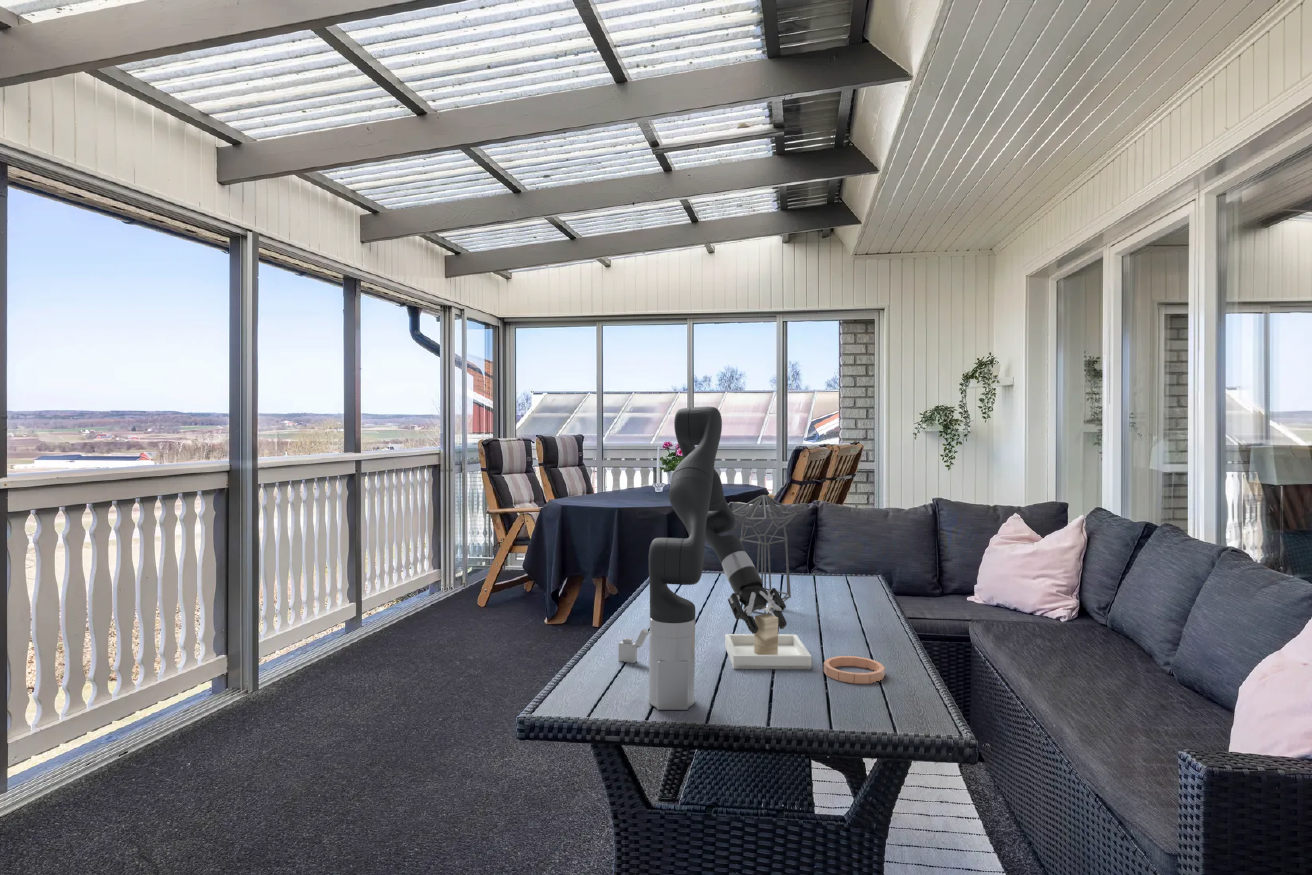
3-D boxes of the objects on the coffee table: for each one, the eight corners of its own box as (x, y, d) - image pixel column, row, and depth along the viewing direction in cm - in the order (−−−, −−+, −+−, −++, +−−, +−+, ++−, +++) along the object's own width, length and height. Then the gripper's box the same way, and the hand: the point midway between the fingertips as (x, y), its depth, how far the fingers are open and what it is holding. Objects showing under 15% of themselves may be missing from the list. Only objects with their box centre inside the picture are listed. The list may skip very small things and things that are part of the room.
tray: (811, 669, 179) (811, 656, 179) (733, 668, 179) (733, 655, 179) (795, 646, 197) (796, 634, 197) (725, 645, 197) (725, 634, 197)
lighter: (618, 660, 184) (618, 627, 184) (621, 658, 185) (621, 625, 185) (646, 664, 181) (646, 630, 181) (648, 662, 183) (649, 628, 183)
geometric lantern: (799, 610, 234) (801, 495, 232) (767, 621, 223) (768, 499, 221) (758, 600, 245) (759, 490, 243) (725, 610, 234) (726, 494, 232)
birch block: (777, 654, 187) (778, 617, 187) (764, 657, 185) (765, 619, 185) (767, 650, 191) (767, 613, 190) (754, 652, 189) (754, 615, 188)
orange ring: (891, 683, 170) (891, 674, 170) (832, 683, 170) (832, 674, 170) (873, 664, 183) (873, 656, 183) (818, 664, 183) (818, 655, 183)
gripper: (725, 567, 190) (753, 625, 181) (770, 562, 197) (800, 617, 188) (712, 584, 195) (739, 641, 185) (757, 579, 202) (785, 633, 193)
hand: (770, 629), depth 187 cm, fingers open, 8 cm apart
